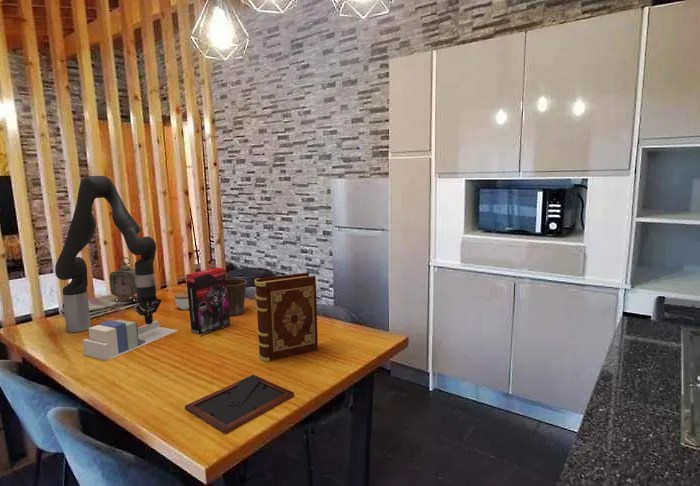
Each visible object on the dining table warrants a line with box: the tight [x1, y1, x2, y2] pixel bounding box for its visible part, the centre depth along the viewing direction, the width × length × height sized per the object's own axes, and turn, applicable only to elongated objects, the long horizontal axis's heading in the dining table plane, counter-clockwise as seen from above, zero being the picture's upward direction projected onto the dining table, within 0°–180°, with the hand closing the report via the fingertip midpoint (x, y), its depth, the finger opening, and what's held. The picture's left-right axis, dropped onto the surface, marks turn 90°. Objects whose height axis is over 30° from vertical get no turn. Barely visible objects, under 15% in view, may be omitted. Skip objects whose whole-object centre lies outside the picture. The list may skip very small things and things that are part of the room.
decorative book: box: [254, 272, 319, 362], centre depth 161 cm, size 22×8×30 cm, turn 117°
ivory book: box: [88, 324, 119, 358], centre depth 161 cm, size 10×4×10 cm, turn 65°
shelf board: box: [82, 320, 179, 361], centre depth 174 cm, size 13×34×7 cm, turn 155°
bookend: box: [136, 322, 145, 345], centre depth 172 cm, size 9×4×9 cm, turn 65°
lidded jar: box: [174, 290, 189, 311], centre depth 223 cm, size 11×11×9 cm
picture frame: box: [184, 374, 295, 435], centre depth 127 cm, size 20×2×25 cm
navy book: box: [98, 319, 128, 353], centre depth 165 cm, size 9×4×11 cm, turn 65°
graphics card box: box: [185, 267, 231, 337], centre depth 187 cm, size 17×7×27 cm, turn 147°
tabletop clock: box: [109, 256, 137, 298], centre depth 238 cm, size 14×9×25 cm, turn 80°
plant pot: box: [226, 278, 248, 317], centre depth 213 cm, size 16×16×16 cm
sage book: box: [114, 318, 139, 350], centre depth 169 cm, size 10×4×10 cm, turn 65°
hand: (149, 323), depth 180 cm, fingers closed
